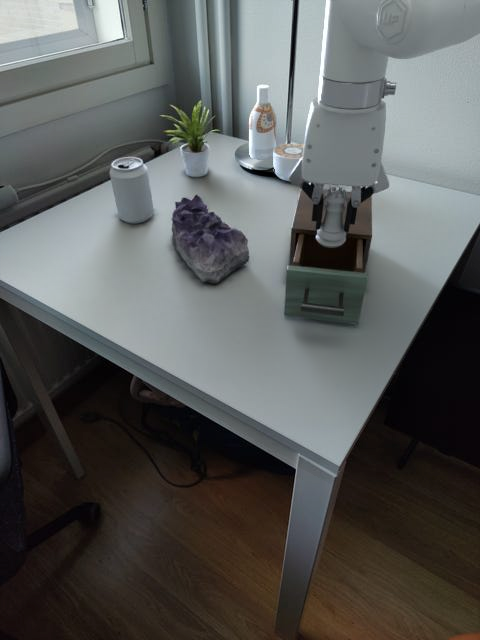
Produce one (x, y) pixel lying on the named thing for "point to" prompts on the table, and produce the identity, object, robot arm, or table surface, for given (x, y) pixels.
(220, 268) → the geode
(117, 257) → the table surface
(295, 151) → the cosmetic set
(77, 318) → the table surface
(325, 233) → the rook chess piece
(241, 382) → the table surface
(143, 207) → the can
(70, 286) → the table surface
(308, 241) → the drawer
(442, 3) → the robot arm
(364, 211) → the cabinet
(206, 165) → the house plant
